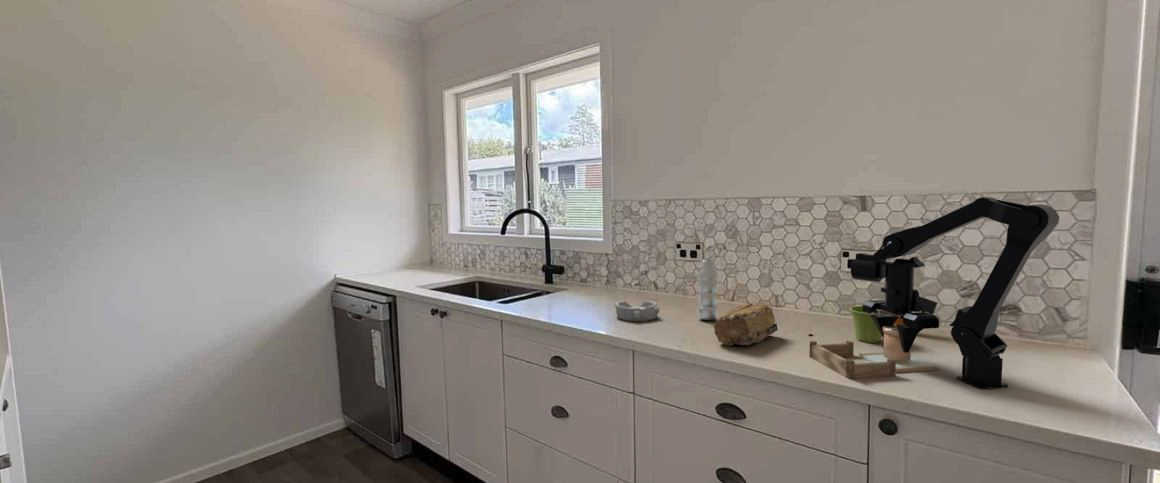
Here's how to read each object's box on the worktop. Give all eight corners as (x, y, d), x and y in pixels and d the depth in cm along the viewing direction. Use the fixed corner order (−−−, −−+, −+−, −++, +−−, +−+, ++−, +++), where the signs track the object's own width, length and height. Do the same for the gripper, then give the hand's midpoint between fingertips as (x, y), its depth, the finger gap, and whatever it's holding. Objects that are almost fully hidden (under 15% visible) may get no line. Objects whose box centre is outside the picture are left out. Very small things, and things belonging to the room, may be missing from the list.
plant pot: (893, 345, 138) (894, 313, 138) (855, 344, 140) (855, 312, 139) (880, 336, 147) (881, 306, 147) (844, 335, 149) (845, 305, 149)
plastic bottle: (693, 319, 173) (692, 259, 171) (709, 316, 175) (709, 258, 174) (705, 323, 167) (705, 261, 165) (722, 320, 170) (722, 260, 168)
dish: (610, 315, 182) (610, 301, 181) (646, 311, 186) (646, 298, 185) (626, 324, 168) (626, 309, 167) (665, 320, 172) (665, 305, 171)
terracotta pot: (918, 360, 122) (919, 330, 121) (894, 361, 121) (894, 332, 120) (899, 352, 128) (900, 324, 127) (876, 353, 127) (876, 325, 126)
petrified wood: (754, 351, 135) (746, 313, 135) (709, 353, 143) (702, 317, 144) (780, 332, 150) (772, 299, 150) (738, 335, 158) (731, 303, 158)
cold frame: (895, 376, 116) (895, 358, 115) (849, 378, 115) (849, 361, 114) (850, 354, 132) (850, 338, 131) (809, 356, 131) (809, 341, 130)
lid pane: (937, 369, 119) (937, 366, 119) (892, 372, 118) (893, 369, 118) (900, 354, 131) (900, 351, 131) (859, 356, 130) (859, 353, 130)
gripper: (963, 290, 114) (960, 358, 116) (902, 277, 133) (900, 336, 134) (916, 292, 113) (914, 361, 115) (861, 279, 132) (860, 339, 133)
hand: (897, 348), depth 124 cm, fingers closed on terracotta pot, 5 cm apart
